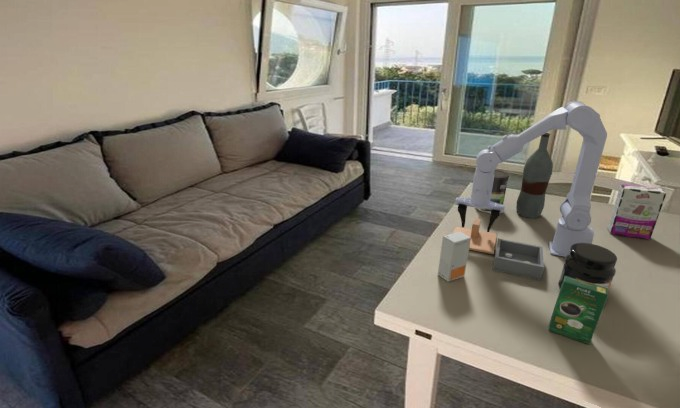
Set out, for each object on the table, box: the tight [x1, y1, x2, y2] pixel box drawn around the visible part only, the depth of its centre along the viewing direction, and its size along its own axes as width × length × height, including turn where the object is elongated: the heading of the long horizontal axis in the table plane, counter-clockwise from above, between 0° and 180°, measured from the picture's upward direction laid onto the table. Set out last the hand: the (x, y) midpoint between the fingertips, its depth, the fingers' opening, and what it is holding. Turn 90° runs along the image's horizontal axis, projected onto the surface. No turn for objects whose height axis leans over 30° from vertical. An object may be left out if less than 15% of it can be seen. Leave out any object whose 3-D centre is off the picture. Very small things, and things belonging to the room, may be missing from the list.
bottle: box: [515, 132, 554, 219], centre depth 133 cm, size 9×9×30 cm
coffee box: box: [548, 276, 609, 345], centre depth 78 cm, size 8×3×13 cm, turn 57°
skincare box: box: [437, 232, 471, 283], centre depth 99 cm, size 6×4×12 cm
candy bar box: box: [607, 183, 667, 241], centre depth 121 cm, size 11×5×16 cm, turn 68°
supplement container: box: [557, 243, 618, 292], centre depth 92 cm, size 10×10×12 cm
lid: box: [452, 217, 497, 255], centre depth 118 cm, size 13×13×6 cm
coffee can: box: [475, 169, 510, 214], centre depth 141 cm, size 10×10×14 cm
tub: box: [492, 238, 545, 281], centre depth 106 cm, size 12×12×4 cm
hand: (475, 228), depth 120 cm, fingers open, 7 cm apart
